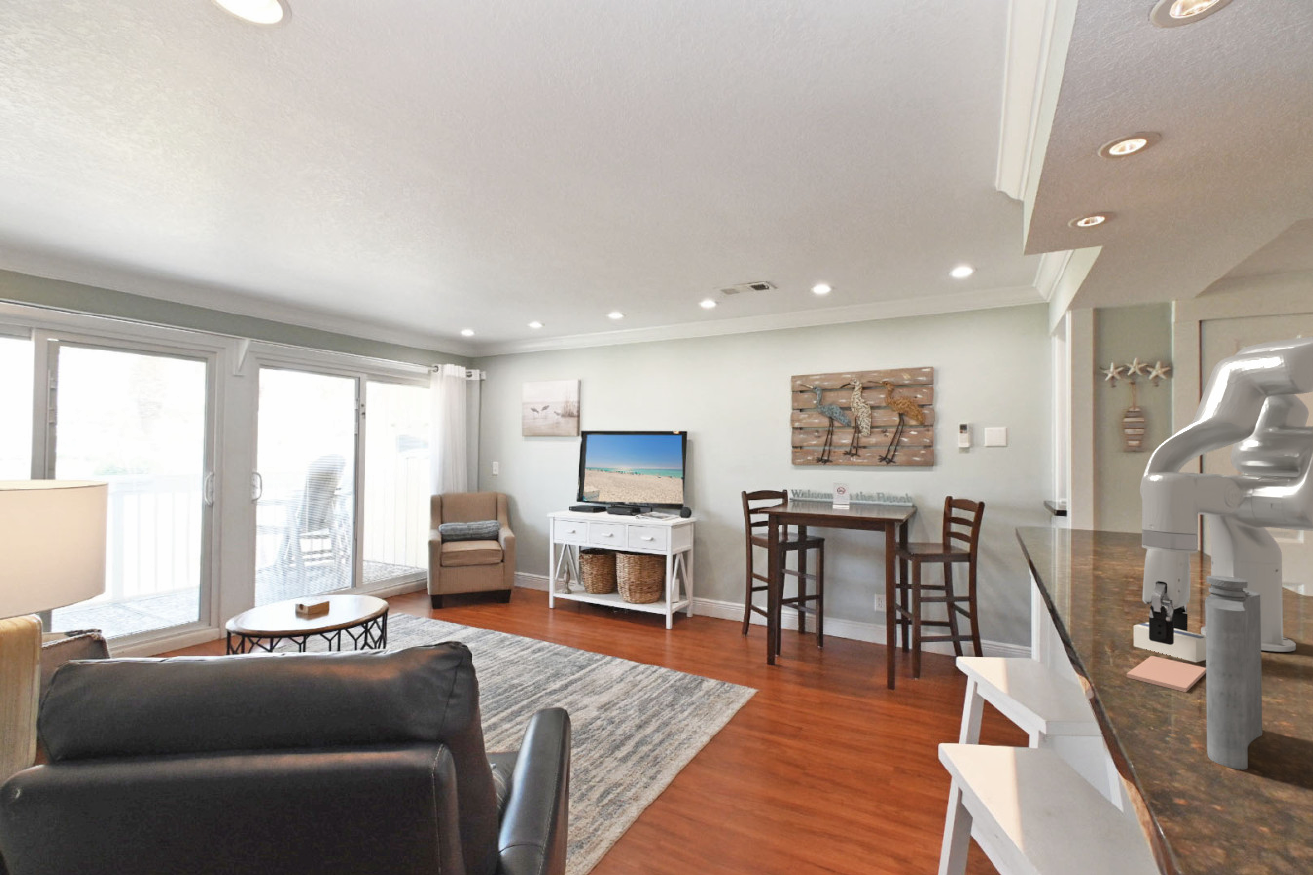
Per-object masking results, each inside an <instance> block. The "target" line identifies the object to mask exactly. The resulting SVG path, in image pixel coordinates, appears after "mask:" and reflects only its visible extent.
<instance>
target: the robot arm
mask: <svg viewBox="0 0 1313 875" xmlns="http://www.w3.org/2000/svg"><path fill="white" fill-rule="evenodd" d="M1307 393H1313V336H1305V337H1304V336H1303V337H1298V338H1290V339H1283V340H1281V339H1280V340H1276V341H1268V342H1262V343H1258V344H1257V343H1256V344H1254V345H1249V346H1246V347H1244V348H1242V349H1240V350H1238V351H1237V352H1236V353H1235V355H1230V356H1228V357H1227V356H1226V357H1225V358H1223V359H1221V360H1220V361H1218V362H1217V363H1216V364H1215V365H1214V367H1213V368H1212V370H1211V374H1210V376H1209V379H1208V381H1207V384H1206V386H1205V388H1204V391H1203V394H1202V397H1201V400H1200V402H1199V405H1198V408H1197V409H1196V413H1195V415H1194V418H1193V420H1192V421H1191V422H1190V423H1188V424H1186V425H1185V426H1184V427H1182V428H1181V429H1179V430H1178V431H1176V432H1175V433H1173V434H1172V435H1171V436H1170V437H1168V438H1167V439H1165V441H1164V442H1162V443H1161V444H1160V445H1159V446H1157V448H1155V449H1154V451H1153V452H1152V453H1151V455H1150V457H1149V459H1148V461H1147V464H1146V465H1145V466H1146V467H1145V469H1144V472H1143V475H1142V477H1141V481H1140V487H1139V494H1140V498H1141V501H1142V502H1141V509H1142V510H1141V548H1143V549H1146V553H1145V558H1144V569H1143V584H1142V585H1143V586H1142V597H1141V598H1142V602H1143V603H1144V604H1146V605H1150V604H1151V605H1150V607H1149V609H1150V610H1149V613H1148V614H1149V615H1148V623H1149V639H1150V640H1151V641H1155V642H1159V643H1164V644H1169V645H1172V644H1173V643H1174V628H1175V629H1179V630H1184V631H1188V625H1189V624H1188V623H1189V622H1188V620H1189V619H1188V618H1189V616H1188V612H1187V611H1188V607H1187V604H1189V602H1190V598H1191V554H1197V553H1199V549H1198V548H1199V546H1198V545H1199V515H1203V516H1206V517H1207V521H1208V527H1209V535H1210V576H1225V577H1233V578H1239V579H1243V580H1246V581H1248V582H1247V583H1248V584H1247V585H1248V586H1247V587H1248V588H1243V590H1246V591H1252V592H1256V593H1259V594H1260V610H1261V651H1264V652H1275V653H1277V652H1278V653H1280V652H1281V653H1285V652H1287V653H1289V652H1294V651H1296V650H1297V644H1296V643H1295V642H1294V640H1291V639H1289V638H1287V637H1284V619H1283V616H1284V615H1283V611H1284V610H1283V608H1284V607H1283V604H1284V603H1283V555H1282V550H1281V547H1280V545H1279V544H1278V542H1277V541H1276V540H1275V538H1274V536H1272V535H1271V533H1270V532H1269V531H1268V530H1267V529H1266V528H1274V529H1284V530H1294V531H1295V530H1296V531H1305V532H1306V531H1310V532H1312V531H1313V425H1312V426H1311V425H1306V424H1307V421H1308V418H1309V414H1310V413H1309V411H1310V410H1309V408H1308V407H1307V405H1306V404H1305V403H1304V402H1303V401H1302V400H1301V399H1300V398H1299V397H1298V396H1297V395H1299V394H1300V395H1301V394H1307ZM1231 445H1233V446H1232V449H1231V452H1230V463H1231V465H1232V467H1233V468H1234V469H1235V470H1236V471H1238V472H1240V473H1242V474H1228V475H1225V474H1218V473H1201V472H1199V473H1198V472H1179V471H1180V470H1181V469H1182V468H1183V467H1184V466H1185V465H1186V464H1188V463H1190V462H1191V461H1192V460H1194V459H1196V458H1197V457H1200V456H1203V455H1205V454H1207V453H1210V452H1213V451H1217V450H1219V449H1222V448H1225V447H1229V446H1231ZM1200 634H1202V635H1206V625H1204V626H1202V627H1201V628H1200Z"/></svg>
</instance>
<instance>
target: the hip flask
mask: <svg viewBox="0 0 1313 875" xmlns="http://www.w3.org/2000/svg"><path fill="white" fill-rule="evenodd" d="M1205 579H1206V584H1208V585H1210V586H1208V593H1210V594H1209V595H1208V596H1207V597H1206V598H1205V606H1204V607H1205V626H1206V660H1205V668H1206V673H1205V680H1206V682H1205V684H1206V685H1205V686H1206V694H1205V695H1206V697H1205V698H1206V699H1205V700H1206V751H1207V752H1206V753H1207V756H1208V759H1210V761H1212V762H1213V761H1214V762H1213V763H1215V764H1217V763H1218V765H1220V766H1222V765H1223V766H1222V767H1225V766H1226V768H1230V769H1233V770H1234V769H1235V770H1240V769H1241V770H1244V771H1245V770H1247V769H1248V761H1249V760H1248V747H1249V746H1250V744H1251V743H1252V742H1253V741H1254V740H1255V739H1257V738H1258V737H1261V736H1262V735H1263V700H1262V699H1263V697H1262V695H1263V692H1262V689H1263V688H1262V650H1261V610H1260V594H1259V593H1256V592H1252V591H1246V590H1243V588H1248V587H1247V586H1248V585H1247V584H1248V583H1247V582H1248V581H1246V580H1243V579H1239V578H1233V577H1225V576H1211V575H1206V578H1205Z"/></svg>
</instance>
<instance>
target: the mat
mask: <svg viewBox="0 0 1313 875" xmlns="http://www.w3.org/2000/svg"><path fill="white" fill-rule="evenodd" d="M1205 675H1206V667H1203V666H1200V665H1195V664H1190V663H1185V662H1181V661H1176V660H1172V659H1168V658H1163V657H1159V656H1156V655H1155V656H1154V655H1151V656H1149V657H1147V658H1146V659H1145V660H1143V661H1142V662H1141V663H1139V664H1138V665H1136V666H1135V667H1134V668H1132V669H1131V670H1129V671H1128V672H1126V678H1128V679H1132V680H1136V681H1140V682H1144V683H1147V684H1148V683H1149V684H1152V685H1154V686H1155V685H1156V686H1160V687H1164V688H1167V689H1172V690H1176V691H1180V692H1183V693H1187V692H1188V691H1190V689H1191V688H1192V687H1193V686H1194V685H1196V683H1197V682H1199V680H1200V679H1202V678H1203V676H1205Z"/></svg>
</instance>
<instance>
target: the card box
mask: <svg viewBox="0 0 1313 875" xmlns="http://www.w3.org/2000/svg"><path fill="white" fill-rule="evenodd" d="M1133 647H1135V648H1138V649H1143V650H1146V649H1147V651H1150V650H1151V652H1154V651H1155V653H1158V652H1159V653H1158V654H1162V653H1163V655H1166V654H1167V655H1166V656H1169V655H1171V657H1174V658H1177V657H1178V659H1181V658H1182V659H1181V660H1185V661H1190V662H1192V663H1199V662H1203V661H1206V635H1202V634H1201V633H1197V632H1192V631H1188V630H1187V631H1184V630H1179V629H1175V628H1174V643H1173V644H1172V645H1169V644H1164V643H1159V642H1155V641H1151V640H1150V639H1149V622H1144V623H1139V624H1135V625H1133Z"/></svg>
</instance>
